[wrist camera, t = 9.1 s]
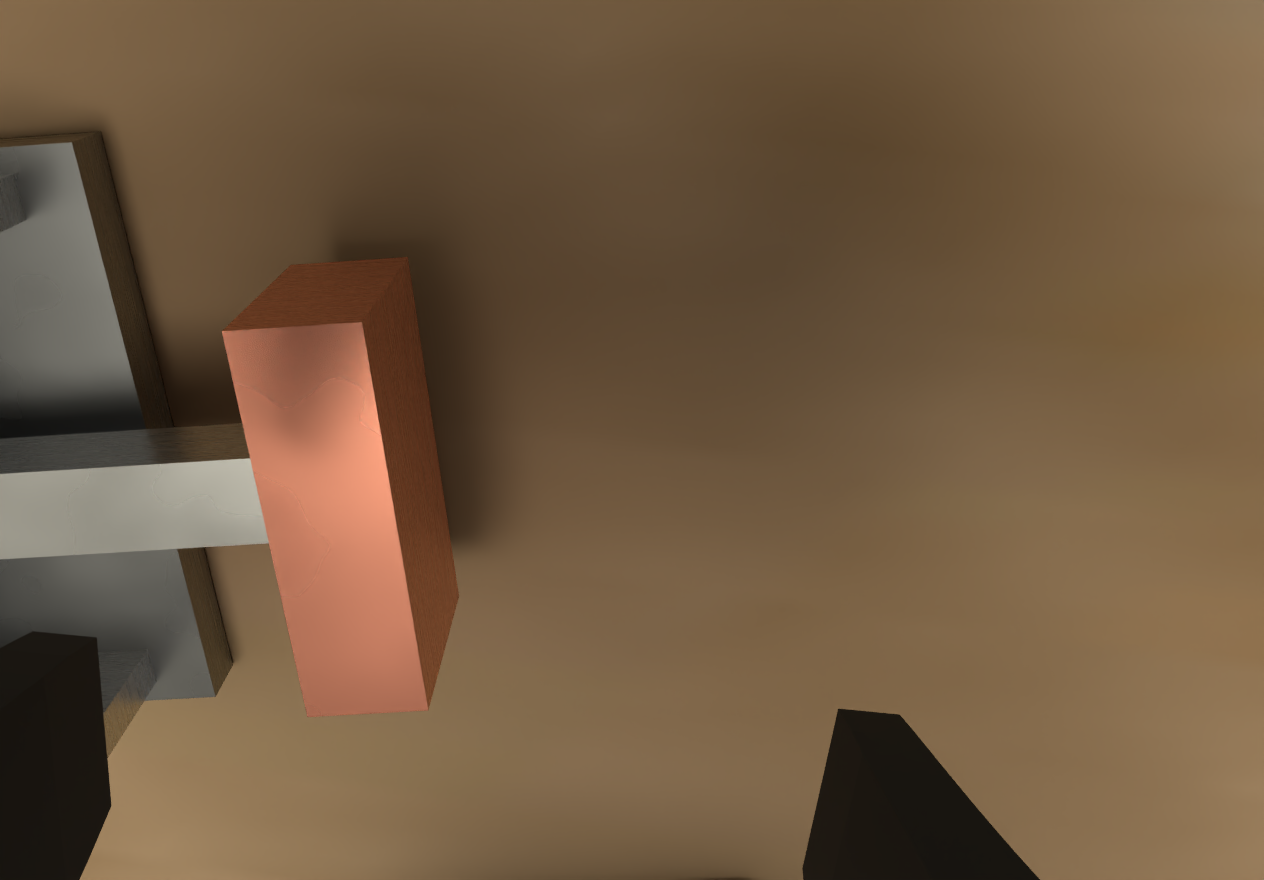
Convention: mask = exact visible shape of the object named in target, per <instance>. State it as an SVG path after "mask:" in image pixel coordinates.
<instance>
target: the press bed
mask: <svg viewBox="0 0 1264 880" xmlns="http://www.w3.org/2000/svg"><path fill="white" fill-rule="evenodd" d="M159 428H174V426H173V422H172V418H171V414H170V410H169V406H168V402H167V398H166V394H165V390H164V386H163V382H162V378H161V374H160V370H159V366H158V362H157V358H156V354H155V350H154V346H153V342H152V338H151V334H150V330H149V326H148V322H147V318H146V313H145V309H144V305H143V301H142V297H141V293H140V289H139V285H138V281H137V277H136V273H135V269H134V265H133V261H132V257H131V253H130V249H129V245H128V241H127V237H126V233H125V229H124V225H123V221H122V217H121V213H120V209H119V205H118V201H117V197H116V193H115V189H114V185H113V181H112V177H111V173H110V169H109V165H108V161H107V157H106V153H105V149H104V144H103V140H102V136H101V132H89V133H75V134H61V135H47V136H33V137H19V138H5V139H0V439H2V438H17V437H33V436H49V435H65V434H80V433H96V432H112V431H128V430H143V429H159ZM32 631H35V632H46V633H56V634H67V635H77V636H87V637H97V645H98V657H99V668H100V680H101V691H102V703H103V715H104V726H105V738H106V750H107V758H108V757H109V755H110V754H111V752H112V750H113V749H114V747H115V746H116V744H117V743H118V741H119V740H120V738H121V736H122V735H123V733H124V732H125V730H126V729H127V727H128V726H129V724H130V722H131V721H132V719H133V718H134V716H135V715H136V713H137V711H138V710H139V708H140V707H141V705H142V704H143V702H144V701H147V700H165V699H183V698H201V697H216V695H217V693H218V691H219V689H220V688H221V686H222V684H223V682H224V680H225V678H226V677H227V675H228V673H229V671H230V669H231V668H232V666H233V664H232V660H231V655H230V651H229V647H228V643H227V639H226V635H225V631H224V627H223V623H222V619H221V615H220V611H219V607H218V603H217V599H216V595H215V591H214V587H213V583H212V579H211V575H210V571H209V567H208V563H207V559H206V555H205V551H204V547H198V548H182V549H165V550H148V551H132V552H115V553H98V554H82V555H65V556H48V557H32V558H15V559H0V648H1V647H3V646H5V645H7V644H9V643H11V642H12V641H14V640H16V639H18V638H20V637H22V636H24V635H26V634H28V633H30V632H32Z"/></svg>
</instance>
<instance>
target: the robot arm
mask: <svg viewBox="0 0 1264 880" xmlns="http://www.w3.org/2000/svg"><path fill="white" fill-rule="evenodd" d="M110 808H111V796H110V784H109V773H108V761H107V750H106V738H105V726H104V715H103V703H102V691H101V680H100V668H99V657H98V645H97V637H87V636H77V635H67V634H56V633H46V632H35V631H32V632H30V633H28V634H26V635H24V636H22V637H20V638H18V639H16V640H14V641H12V642H11V643H9V644H7V645H5V646H3V647H1V648H0V880H79V879H80V877H81V875H82V873H83V870H84V868H85V866H86V864H87V862H88V859H89V857H90V855H91V852H92V850H93V848H94V845H95V843H96V841H97V838H98V836H99V834H100V831H101V829H102V827H103V824H104V822H105V819H106V817H107V815H108V812H109V810H110ZM803 879H804V880H1040V879H1039V878H1038V877H1037V876H1036V875H1035V874H1034V873H1033V872H1032V871H1031V869H1030V868H1029V867H1028V866H1027V865H1026V864H1025V863H1024V862H1023V861H1022V859H1021V858H1020V857H1019V856H1018V855H1017V854H1016V853H1015V852H1014V850H1013V849H1012V848H1011V847H1010V846H1009V845H1008V844H1007V842H1006V841H1005V840H1004V839H1003V838H1002V837H1001V836H1000V834H999V833H998V832H997V831H996V830H995V829H994V828H993V826H992V825H991V824H990V823H989V822H988V821H987V819H986V818H985V817H984V816H983V815H982V813H981V812H980V811H979V810H978V809H977V808H976V806H975V805H974V804H973V803H972V802H971V800H970V799H969V798H968V797H967V796H966V794H965V793H964V792H963V791H962V790H961V788H960V787H959V786H958V785H957V784H956V782H955V781H954V780H953V779H952V778H951V776H950V775H949V774H948V773H947V771H946V770H945V769H944V768H943V767H942V765H941V764H940V763H939V762H938V760H937V759H936V758H935V757H934V756H933V754H932V753H931V752H930V751H929V749H928V748H927V747H926V746H925V744H924V743H923V742H922V741H921V740H920V738H919V737H918V736H917V735H916V734H915V732H914V731H913V730H912V729H911V727H910V726H909V725H908V724H907V723H906V722H905V720H904V719H903V718H902V717H901V716H900V715H897V714H887V713H877V712H866V711H856V710H845V709H838V713H837V717H836V722H835V726H834V731H833V735H832V739H831V744H830V748H829V753H828V757H827V762H826V766H825V771H824V775H823V780H822V784H821V789H820V793H819V797H818V802H817V806H816V811H815V815H814V820H813V824H812V829H811V833H810V838H809V842H808V847H807V851H806V855H805V860H804V864H803Z"/></svg>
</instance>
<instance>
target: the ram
mask: <svg viewBox="0 0 1264 880" xmlns="http://www.w3.org/2000/svg"><path fill="white" fill-rule="evenodd" d="M222 334H223V339H224V343H225V348H226V352H227V357H228V361H229V366H230V370H231V375H232V379H233V384H234V388H235V393H236V397H237V402H238V406H239V411H240V415H241V420H242V423H238V424H222V425H206V426H190V427H175V428H159V429H143V430H128V431H112V432H96V433H80V434H65V435H49V436H33V437H17V438H2V439H0V559H15V558H32V557H48V556H65V555H82V554H98V553H115V552H132V551H148V550H165V549H182V548H198V547H215V546H232V545H248V544H265V543H269V546H270V550H271V555H272V559H273V564H274V568H275V573H276V577H277V582H278V586H279V591H280V595H281V600H282V604H283V609H284V613H285V618H286V622H287V627H288V631H289V636H290V640H291V645H292V649H293V654H294V658H295V663H296V667H297V672H298V676H299V681H300V685H301V690H302V694H303V699H304V703H305V708H306V712H307V717H317V716H335V715H353V714H371V713H389V712H407V711H425V710H428V709H429V706H430V702H431V698H432V695H433V691H434V687H435V683H436V680H437V676H438V672H439V669H440V665H441V661H442V657H443V654H444V650H445V646H446V642H447V639H448V635H449V631H450V628H451V624H452V620H453V616H454V613H455V609H456V605H457V602H458V598H459V594H458V587H457V580H456V574H455V567H454V561H453V554H452V547H451V541H450V534H449V527H448V521H447V514H446V508H445V501H444V494H443V488H442V481H441V474H440V468H439V461H438V455H437V448H436V441H435V435H434V428H433V421H432V415H431V408H430V402H429V395H428V388H427V382H426V375H425V368H424V362H423V355H422V349H421V342H420V335H419V329H418V322H417V315H416V309H415V302H414V296H413V289H412V282H411V276H410V269H409V262H408V257H401V258H387V259H372V260H357V261H343V262H328V263H313V264H298V265H290V266H289V267H288V268H287V269H286V270H285V271H284V272H283V273H282V274H281V275H280V276H279V277H278V278H277V279H276V280H275V281H274V282H273V283H272V284H270V285H269V286H268V287H267V288H266V289H265V290H264V291H263V292H262V293H261V294H260V295H259V296H258V297H257V298H256V299H255V300H254V301H253V302H252V303H251V304H250V305H249V306H248V307H247V308H246V309H245V310H243V311H242V312H241V313H240V314H239V315H238V316H237V317H236V318H235V319H234V320H233V321H232V322H231V323H230V324H229V325H228V326H227V327H226V328H225V329H224V330H223V331H222Z"/></svg>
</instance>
